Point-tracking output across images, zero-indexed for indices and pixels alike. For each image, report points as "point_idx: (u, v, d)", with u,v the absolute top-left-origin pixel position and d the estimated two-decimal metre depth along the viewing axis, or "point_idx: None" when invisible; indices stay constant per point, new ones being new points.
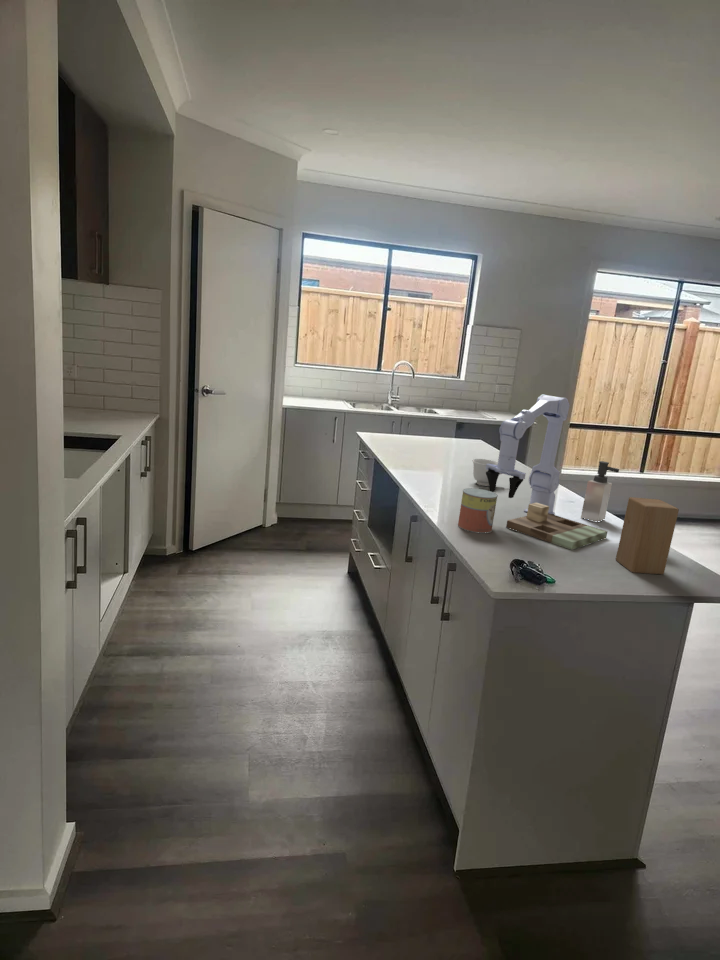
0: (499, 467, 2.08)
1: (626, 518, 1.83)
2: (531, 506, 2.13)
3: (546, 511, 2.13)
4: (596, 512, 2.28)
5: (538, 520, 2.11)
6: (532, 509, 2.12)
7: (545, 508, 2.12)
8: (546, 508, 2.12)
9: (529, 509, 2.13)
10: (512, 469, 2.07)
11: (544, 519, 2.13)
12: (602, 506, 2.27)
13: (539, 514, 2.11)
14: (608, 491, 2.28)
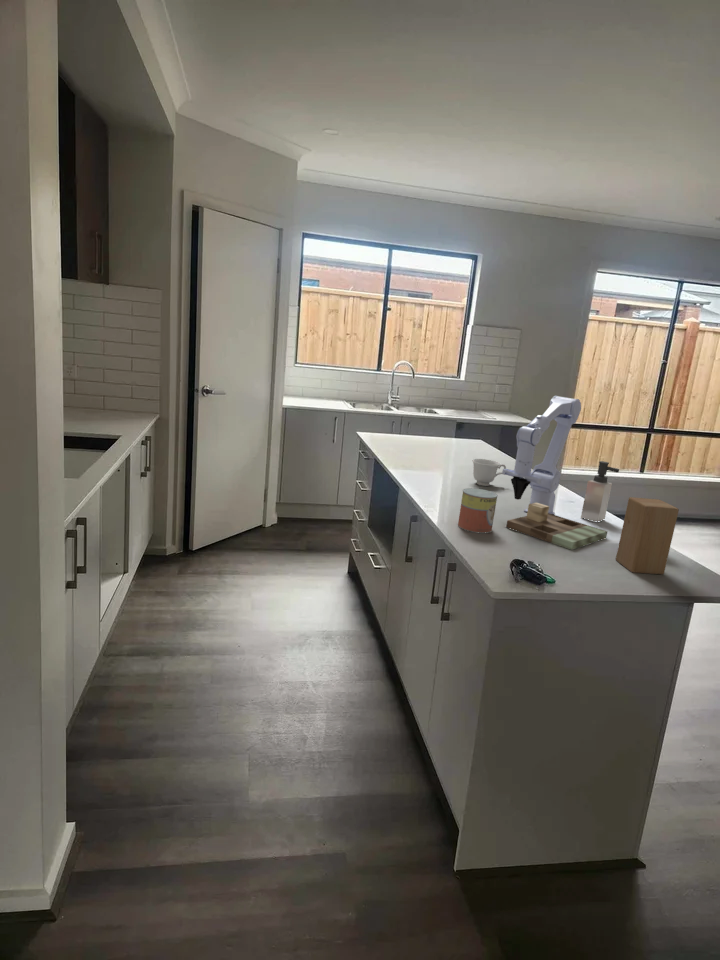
0: (516, 472, 2.15)
1: (626, 518, 1.83)
2: (531, 506, 2.13)
3: (546, 511, 2.13)
4: (596, 512, 2.28)
5: (538, 520, 2.11)
6: (532, 509, 2.12)
7: (545, 508, 2.12)
8: (546, 508, 2.12)
9: (529, 509, 2.13)
10: (528, 474, 2.15)
11: (544, 519, 2.13)
12: (602, 506, 2.27)
13: (539, 514, 2.11)
14: (608, 491, 2.28)
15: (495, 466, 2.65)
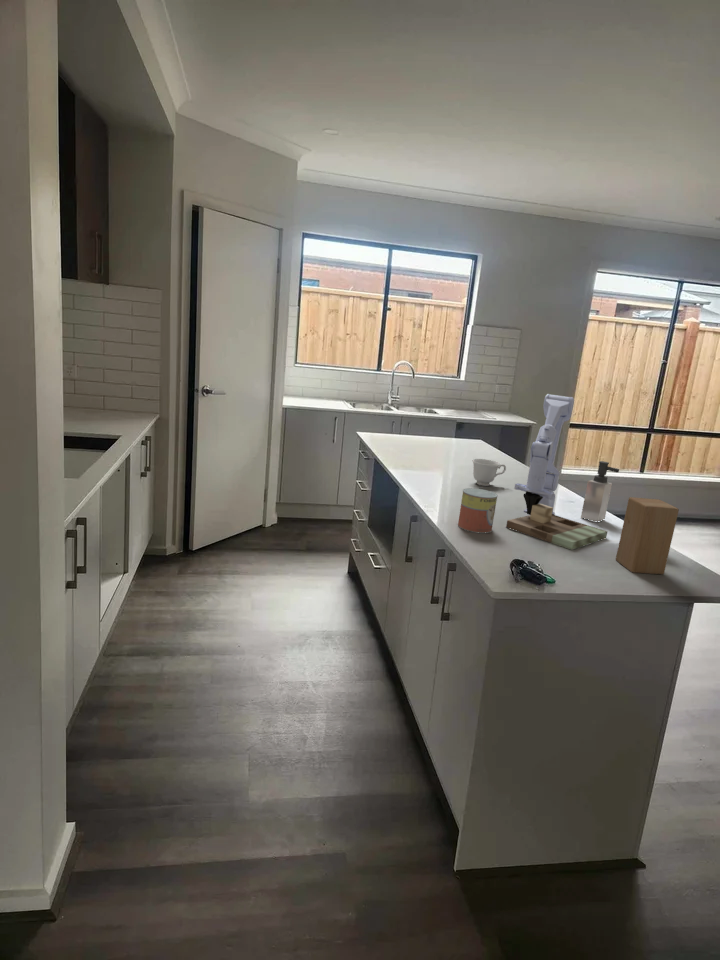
0: (528, 487, 2.12)
1: (626, 518, 1.83)
2: (535, 507, 2.12)
3: (550, 512, 2.12)
4: (596, 512, 2.28)
5: (542, 521, 2.10)
6: (535, 510, 2.11)
7: (549, 509, 2.11)
8: (550, 509, 2.11)
9: (533, 510, 2.12)
10: (541, 489, 2.12)
11: (548, 520, 2.12)
12: (602, 506, 2.27)
13: (543, 515, 2.10)
14: (608, 491, 2.28)
15: (495, 466, 2.65)
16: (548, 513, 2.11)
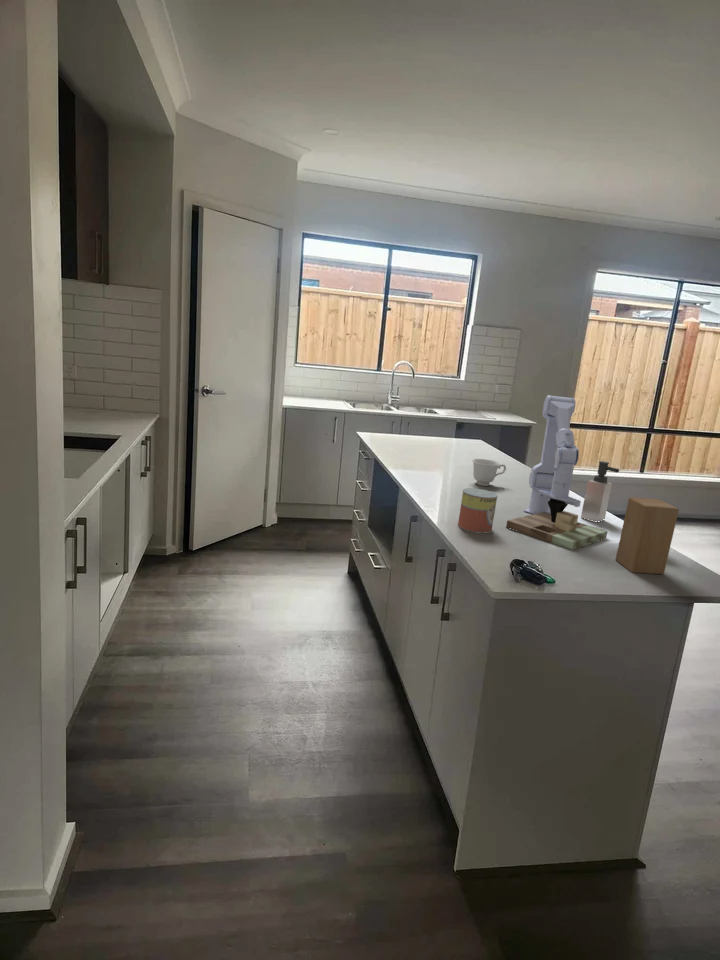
0: (553, 494, 2.06)
1: (626, 518, 1.83)
2: (559, 515, 2.05)
3: (575, 520, 2.05)
4: (596, 512, 2.28)
5: (567, 529, 2.04)
6: (560, 517, 2.05)
7: (574, 517, 2.04)
8: (575, 517, 2.05)
9: (557, 518, 2.06)
10: (566, 496, 2.05)
11: (573, 528, 2.06)
12: (602, 506, 2.27)
13: (568, 523, 2.03)
14: (608, 491, 2.28)
15: (495, 466, 2.65)
16: (573, 521, 2.04)
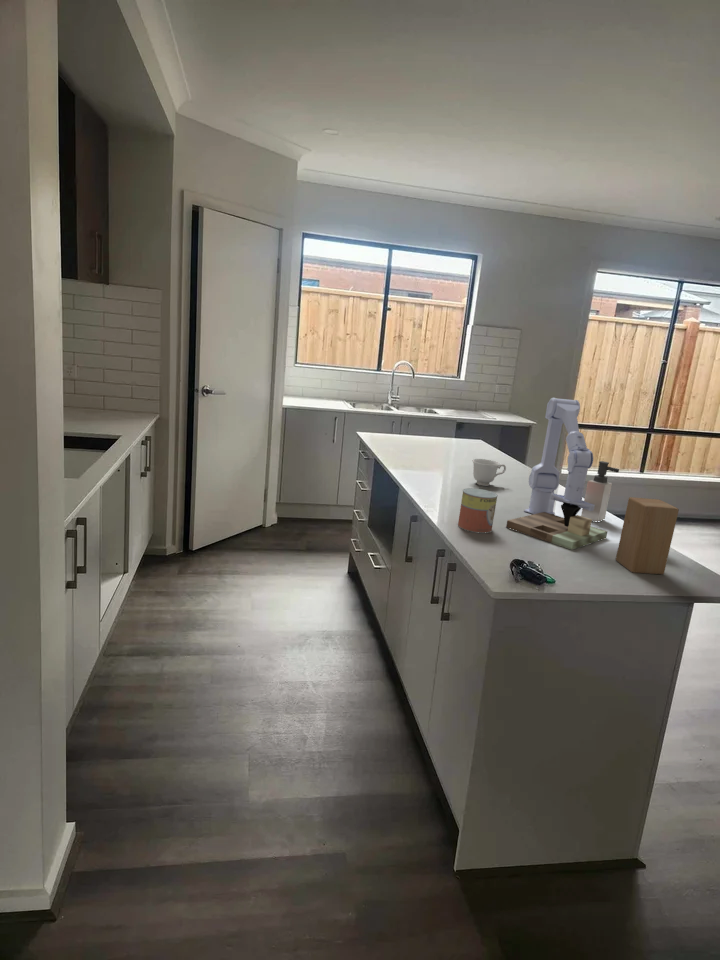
0: (566, 498, 2.03)
1: (626, 518, 1.83)
2: (573, 519, 2.02)
3: (589, 524, 2.02)
4: (596, 512, 2.28)
5: (580, 534, 2.00)
6: (573, 522, 2.02)
7: (588, 521, 2.01)
8: (589, 521, 2.01)
9: (570, 522, 2.02)
10: (580, 500, 2.02)
11: (586, 533, 2.02)
12: (602, 506, 2.27)
13: (581, 527, 2.00)
14: (608, 491, 2.28)
15: (495, 466, 2.65)
16: (587, 525, 2.01)
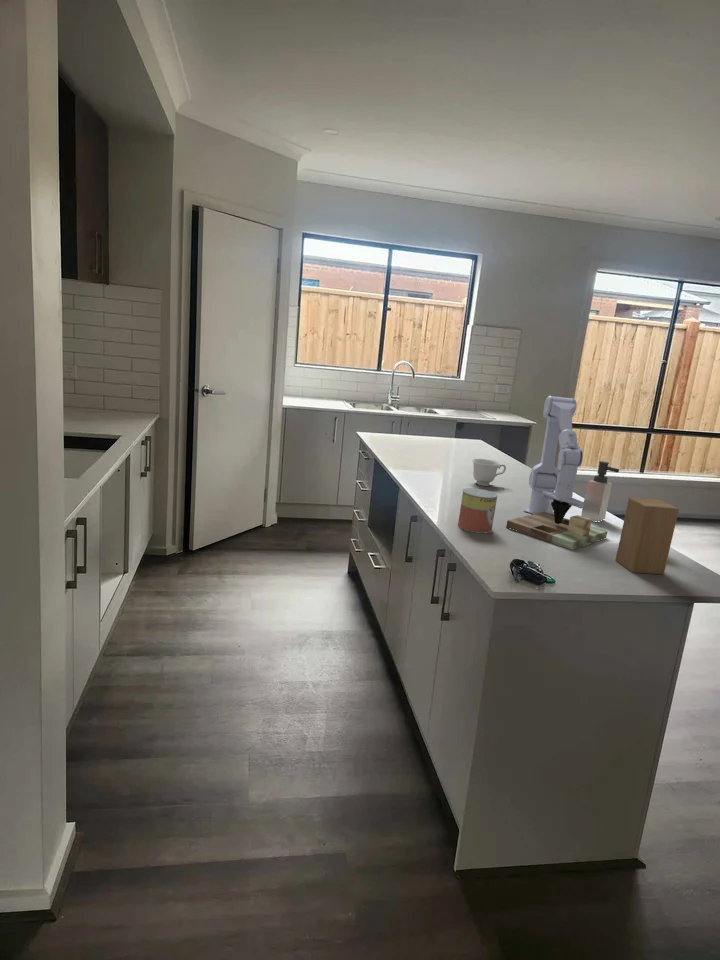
0: (557, 496, 2.05)
1: (626, 518, 1.83)
2: (573, 519, 2.02)
3: (589, 524, 2.02)
4: (596, 512, 2.28)
5: (580, 534, 2.00)
6: (573, 522, 2.02)
7: (588, 521, 2.01)
8: (589, 521, 2.01)
9: (570, 522, 2.02)
10: (570, 498, 2.04)
11: (586, 533, 2.02)
12: (602, 506, 2.27)
13: (581, 527, 2.00)
14: (608, 491, 2.28)
15: (495, 466, 2.65)
16: (587, 525, 2.01)
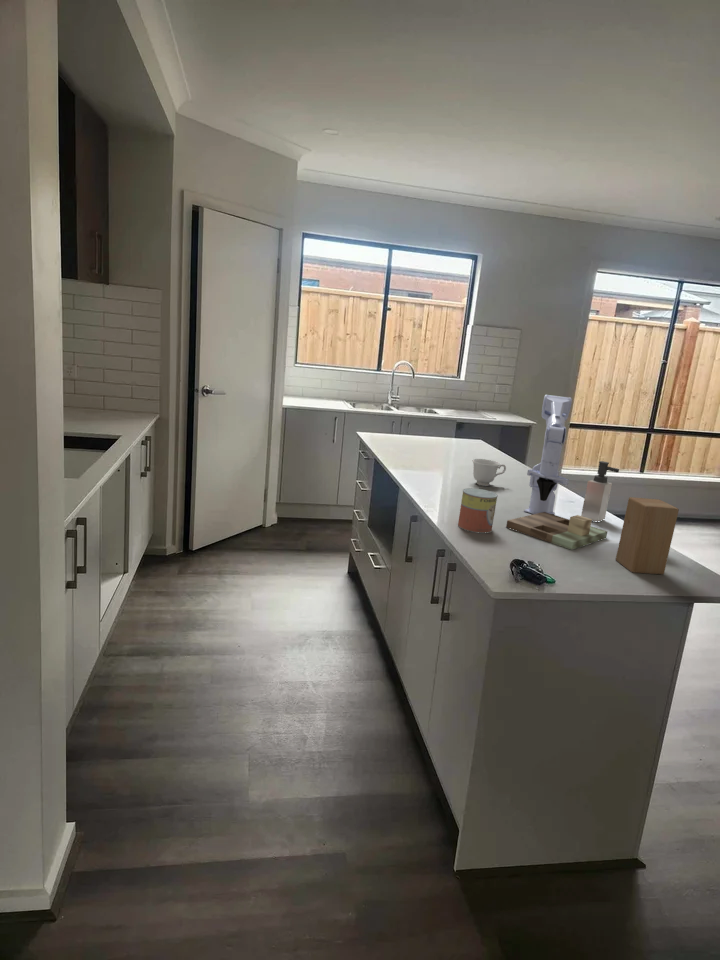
0: (542, 473, 2.10)
1: (626, 518, 1.83)
2: (573, 519, 2.02)
3: (589, 524, 2.02)
4: (596, 512, 2.28)
5: (580, 534, 2.00)
6: (573, 522, 2.02)
7: (588, 521, 2.01)
8: (589, 521, 2.01)
9: (570, 522, 2.02)
10: (555, 475, 2.09)
11: (586, 533, 2.02)
12: (602, 506, 2.27)
13: (581, 527, 2.00)
14: (608, 491, 2.28)
15: (495, 466, 2.65)
16: (587, 525, 2.01)
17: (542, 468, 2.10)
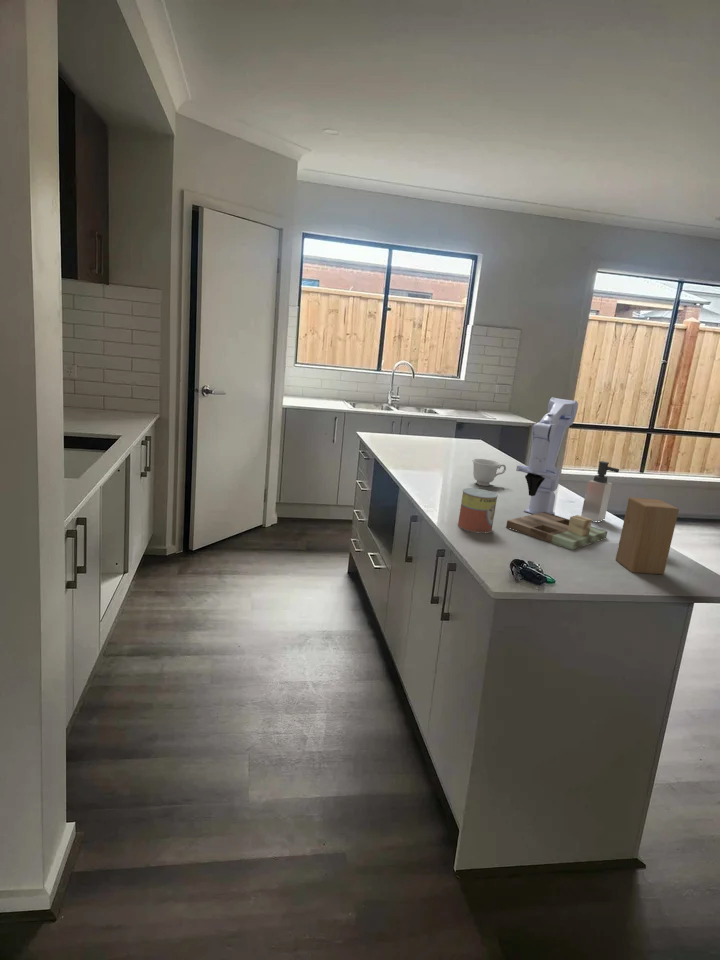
0: (530, 468, 2.15)
1: (626, 518, 1.83)
2: (573, 519, 2.02)
3: (589, 524, 2.02)
4: (596, 512, 2.28)
5: (580, 534, 2.00)
6: (573, 522, 2.02)
7: (588, 521, 2.01)
8: (589, 521, 2.01)
9: (570, 522, 2.02)
10: (543, 470, 2.14)
11: (586, 533, 2.02)
12: (602, 506, 2.27)
13: (581, 527, 2.00)
14: (608, 491, 2.28)
15: (495, 466, 2.65)
16: (587, 525, 2.01)
17: (530, 464, 2.15)
